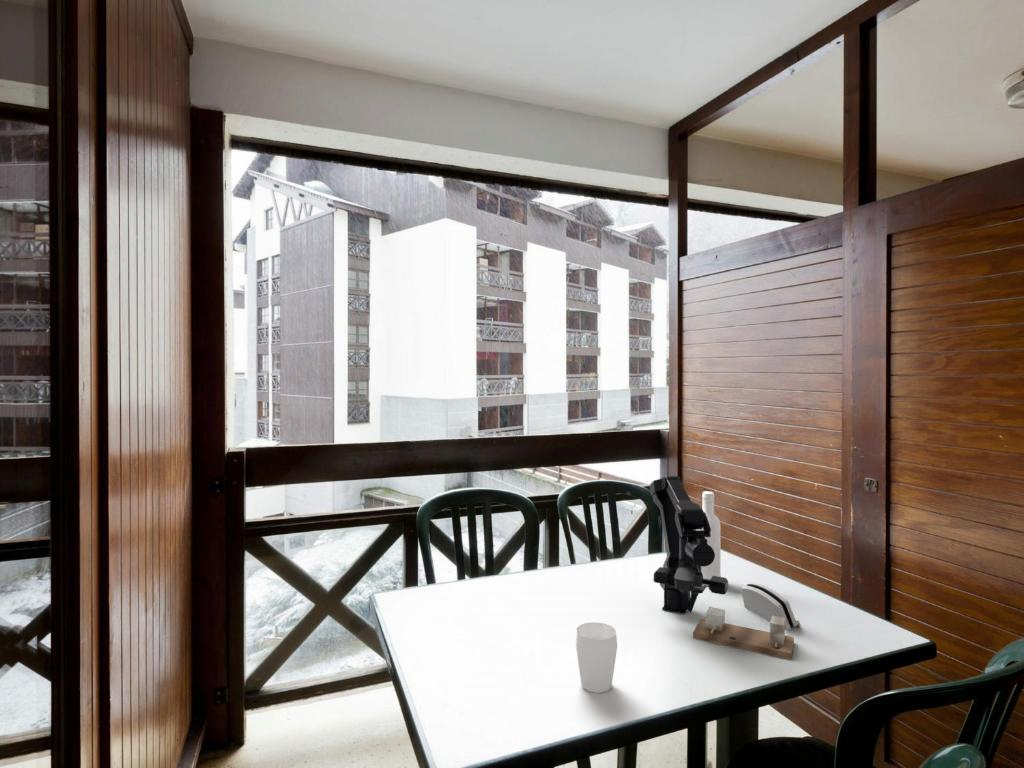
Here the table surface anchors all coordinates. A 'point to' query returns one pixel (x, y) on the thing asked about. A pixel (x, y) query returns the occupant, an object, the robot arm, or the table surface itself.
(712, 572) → the bottle
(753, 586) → the light grey curved piece
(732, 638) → the hole board
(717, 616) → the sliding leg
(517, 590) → the table surface
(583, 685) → the cup
